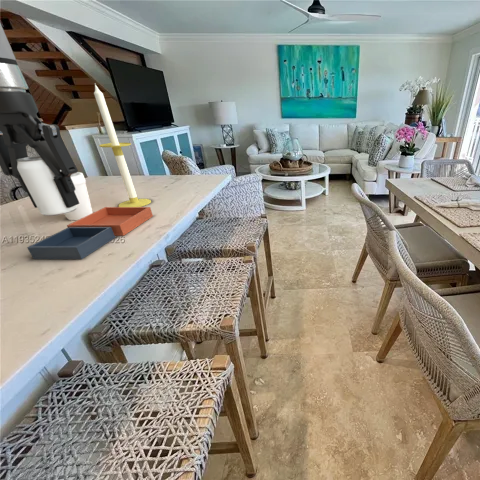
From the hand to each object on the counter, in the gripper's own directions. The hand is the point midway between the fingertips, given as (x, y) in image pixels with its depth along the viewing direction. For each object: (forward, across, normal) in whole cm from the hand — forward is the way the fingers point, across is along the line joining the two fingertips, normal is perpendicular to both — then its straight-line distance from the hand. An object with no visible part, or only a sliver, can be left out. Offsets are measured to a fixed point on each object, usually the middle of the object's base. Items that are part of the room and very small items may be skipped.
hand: (57, 205), depth 61 cm
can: (+2, 0, 0) cm, 2 cm away
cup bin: (+11, 0, +14) cm, 18 cm away
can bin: (+11, 0, 0) cm, 11 cm away
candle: (+11, -6, +33) cm, 35 cm away
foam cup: (+11, -16, +21) cm, 29 cm away
